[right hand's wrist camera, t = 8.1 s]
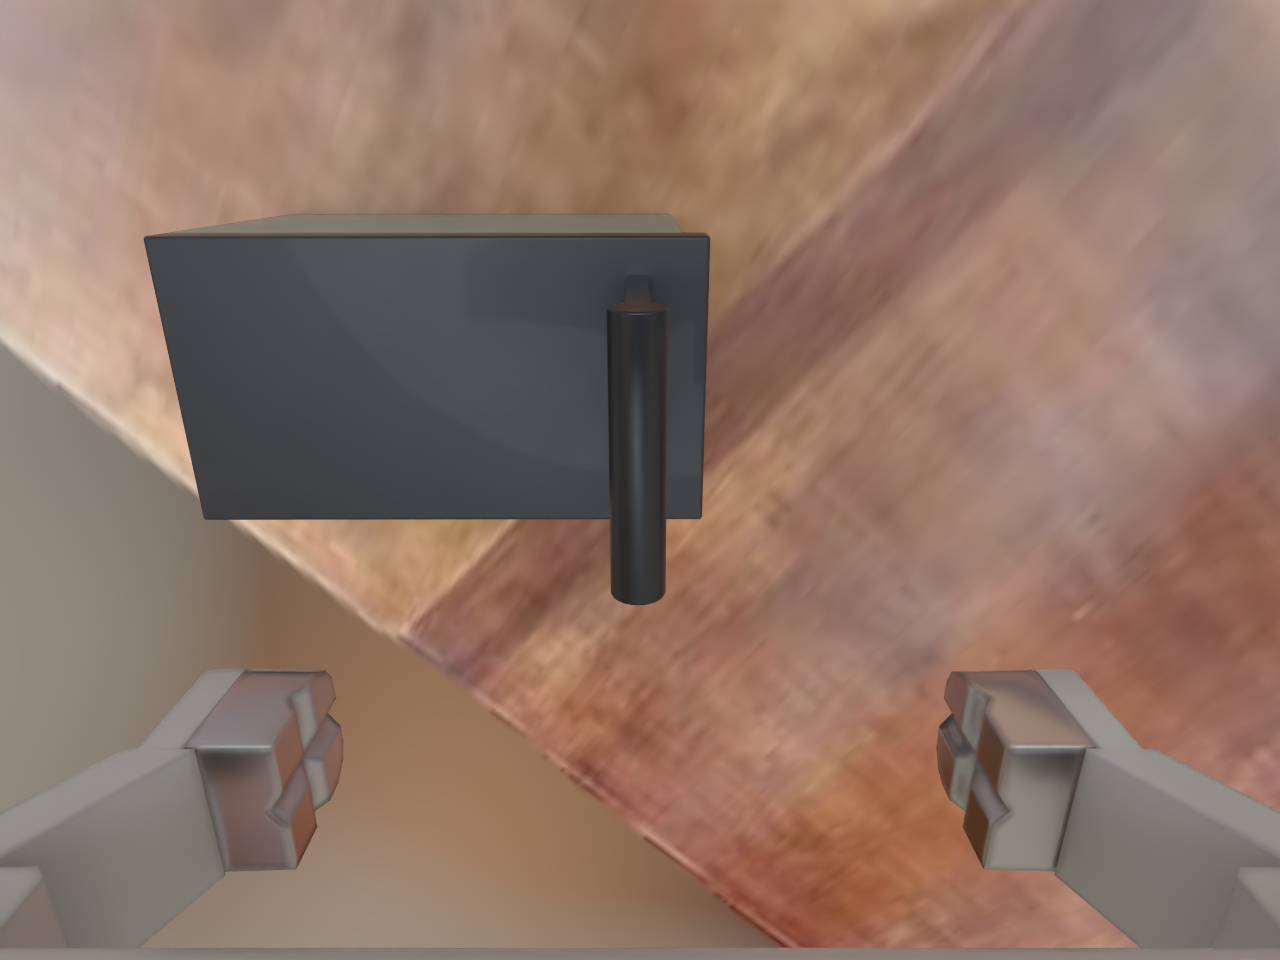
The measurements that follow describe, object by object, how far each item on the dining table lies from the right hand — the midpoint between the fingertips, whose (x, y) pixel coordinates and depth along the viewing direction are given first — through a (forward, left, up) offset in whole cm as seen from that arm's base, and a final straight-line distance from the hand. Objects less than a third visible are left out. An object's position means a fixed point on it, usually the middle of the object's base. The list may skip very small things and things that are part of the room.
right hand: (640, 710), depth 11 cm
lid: (+5, +4, -18) cm, 19 cm away
